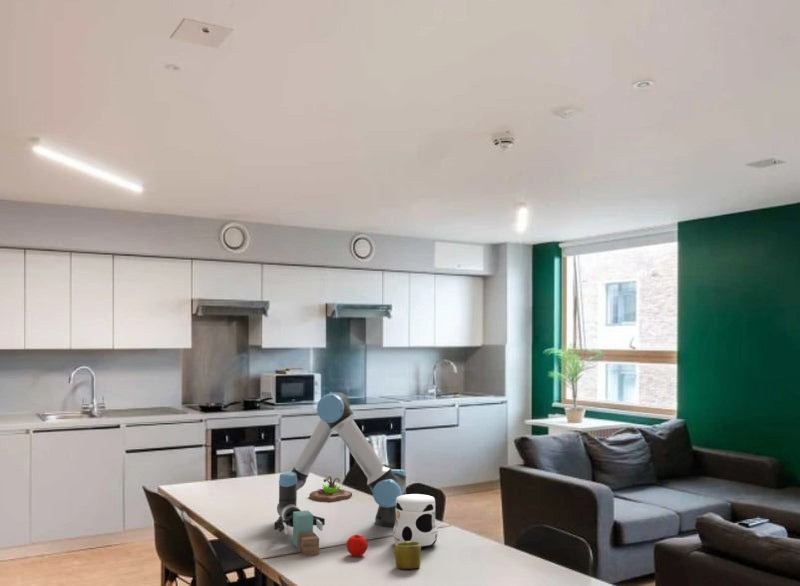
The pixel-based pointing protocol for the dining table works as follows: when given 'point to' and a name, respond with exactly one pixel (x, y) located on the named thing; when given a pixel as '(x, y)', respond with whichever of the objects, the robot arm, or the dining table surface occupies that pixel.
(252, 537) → the dining table surface
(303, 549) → the brown block
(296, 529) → the teal pillar
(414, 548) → the mug
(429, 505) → the milk container
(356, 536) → the apple
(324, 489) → the plant
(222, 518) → the dining table surface
